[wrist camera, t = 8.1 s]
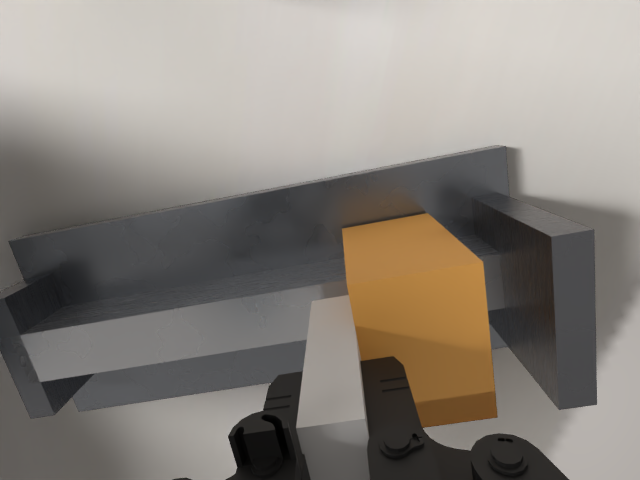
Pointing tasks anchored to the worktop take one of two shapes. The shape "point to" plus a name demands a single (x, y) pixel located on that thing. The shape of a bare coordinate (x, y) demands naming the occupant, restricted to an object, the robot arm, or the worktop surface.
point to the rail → (244, 251)
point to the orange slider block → (424, 314)
